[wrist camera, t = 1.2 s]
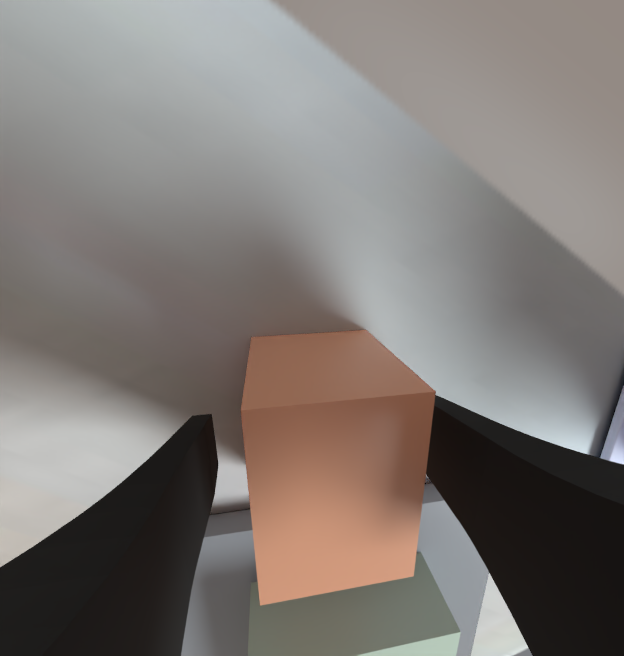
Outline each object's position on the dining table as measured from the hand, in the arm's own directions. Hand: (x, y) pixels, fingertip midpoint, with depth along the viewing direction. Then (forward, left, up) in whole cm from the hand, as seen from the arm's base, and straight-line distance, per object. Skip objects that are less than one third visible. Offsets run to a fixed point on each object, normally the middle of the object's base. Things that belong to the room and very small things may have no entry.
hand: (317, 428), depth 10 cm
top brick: (0, 0, -2) cm, 2 cm away
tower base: (-1, +12, -2) cm, 12 cm away
